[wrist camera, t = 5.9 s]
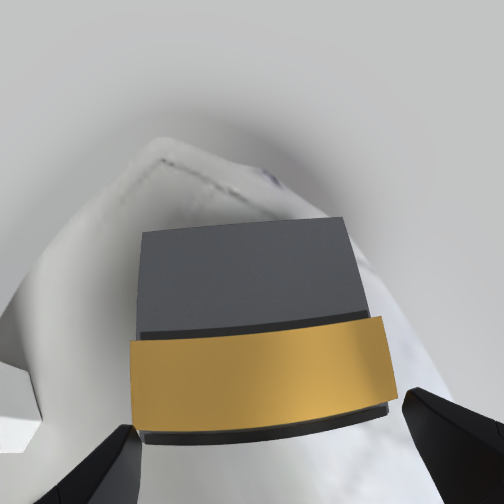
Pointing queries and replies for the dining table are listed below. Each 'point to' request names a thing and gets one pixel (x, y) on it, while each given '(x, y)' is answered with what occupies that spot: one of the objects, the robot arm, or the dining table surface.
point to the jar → (16, 409)
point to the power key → (260, 377)
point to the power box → (249, 299)
